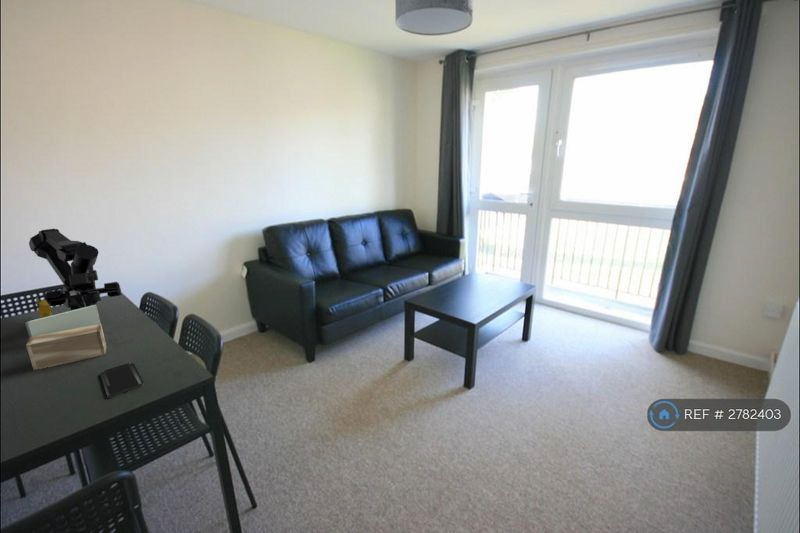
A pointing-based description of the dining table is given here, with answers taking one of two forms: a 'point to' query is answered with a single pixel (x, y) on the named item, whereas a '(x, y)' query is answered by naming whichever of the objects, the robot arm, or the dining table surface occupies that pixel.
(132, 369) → the phone
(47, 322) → the flap
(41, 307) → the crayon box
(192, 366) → the dining table surface
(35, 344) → the crate
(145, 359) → the dining table surface
